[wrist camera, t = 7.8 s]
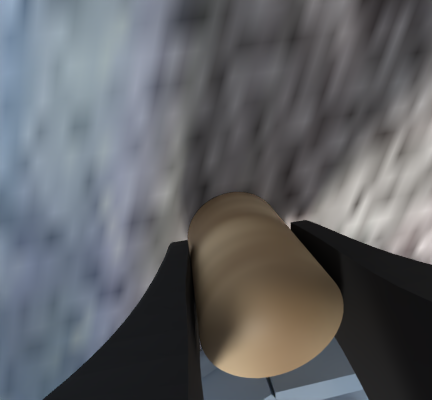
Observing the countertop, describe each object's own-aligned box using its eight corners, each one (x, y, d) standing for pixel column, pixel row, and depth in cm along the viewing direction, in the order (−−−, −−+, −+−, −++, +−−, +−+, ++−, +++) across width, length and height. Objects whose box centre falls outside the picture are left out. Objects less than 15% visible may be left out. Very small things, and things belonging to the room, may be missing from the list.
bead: (187, 276, 12) (198, 385, 8) (187, 192, 11) (200, 268, 6) (273, 270, 13) (328, 369, 9) (283, 190, 12) (357, 258, 7)
